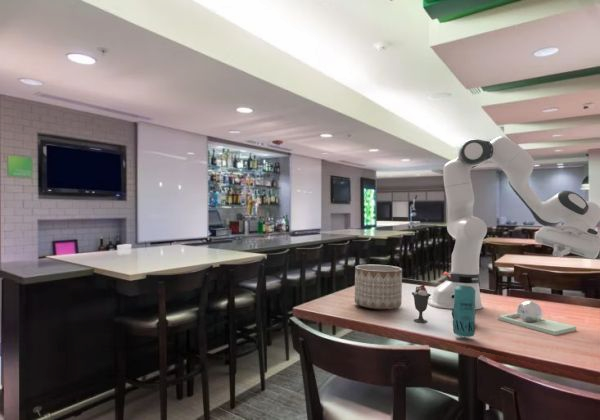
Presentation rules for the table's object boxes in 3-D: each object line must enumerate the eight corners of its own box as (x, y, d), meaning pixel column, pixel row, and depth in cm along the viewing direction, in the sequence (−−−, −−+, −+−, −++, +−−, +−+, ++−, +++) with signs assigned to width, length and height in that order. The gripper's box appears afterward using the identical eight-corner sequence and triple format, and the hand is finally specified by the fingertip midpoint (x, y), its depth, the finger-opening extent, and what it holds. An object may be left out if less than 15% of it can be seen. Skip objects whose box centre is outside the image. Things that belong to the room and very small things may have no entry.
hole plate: (576, 330, 129) (576, 326, 129) (554, 335, 123) (554, 331, 123) (519, 315, 146) (519, 312, 146) (498, 319, 140) (498, 316, 140)
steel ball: (541, 311, 130) (515, 304, 135) (538, 330, 133) (513, 323, 138) (545, 300, 135) (521, 294, 141) (543, 319, 138) (519, 312, 143)
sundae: (428, 325, 131) (428, 282, 131) (409, 321, 135) (409, 280, 135) (432, 320, 137) (433, 280, 137) (413, 317, 140) (414, 278, 140)
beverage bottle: (448, 335, 121) (449, 273, 121) (468, 335, 121) (469, 273, 121) (459, 342, 114) (460, 277, 114) (479, 341, 115) (480, 277, 115)
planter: (355, 300, 168) (356, 263, 168) (399, 302, 164) (400, 265, 164) (353, 310, 149) (353, 269, 149) (402, 314, 145) (403, 272, 145)
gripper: (543, 218, 147) (526, 239, 142) (607, 234, 132) (590, 258, 126) (543, 230, 151) (526, 251, 145) (605, 247, 135) (589, 271, 130)
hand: (557, 254), depth 136 cm, fingers closed
